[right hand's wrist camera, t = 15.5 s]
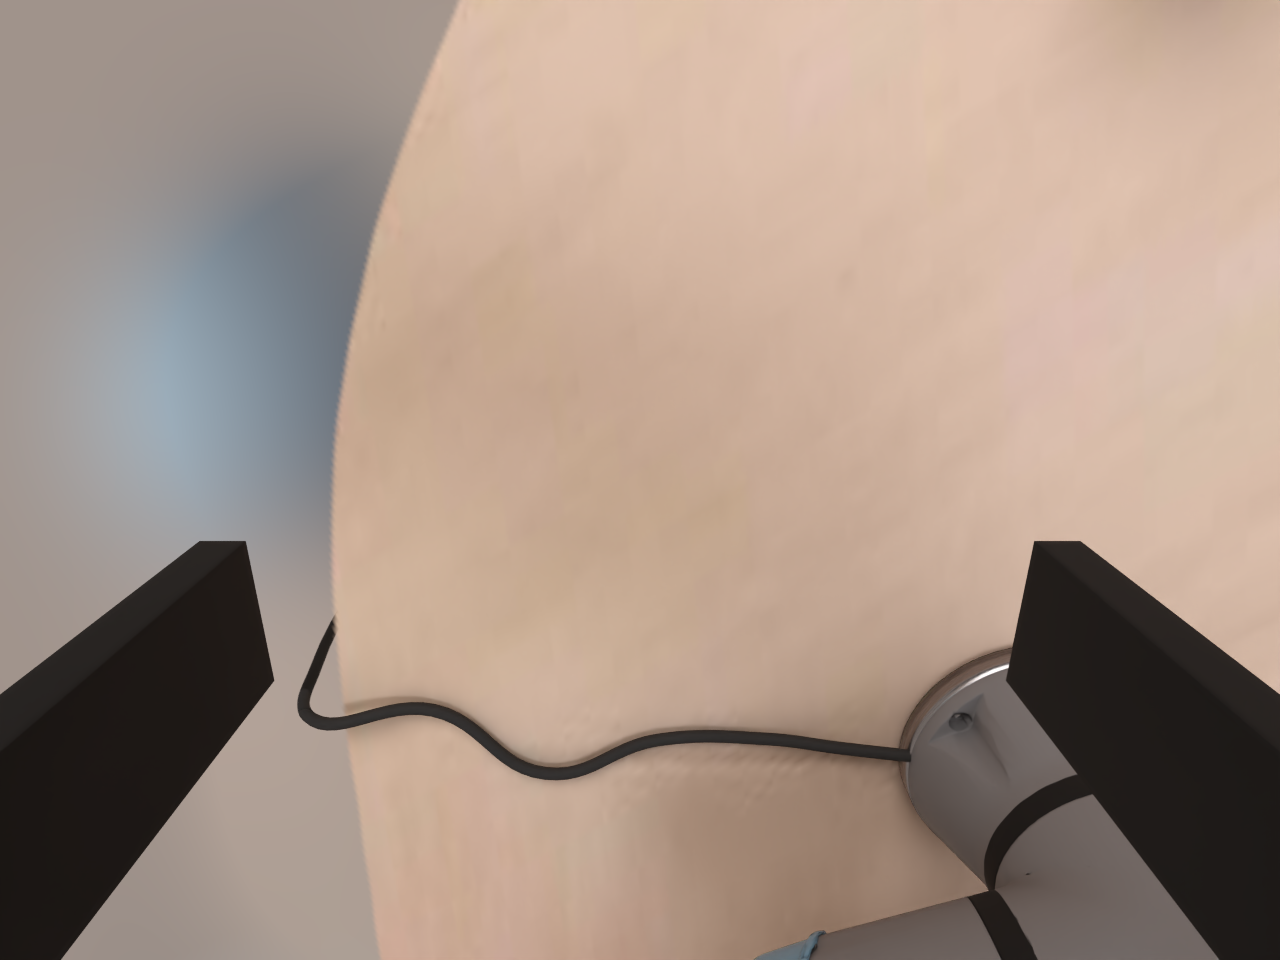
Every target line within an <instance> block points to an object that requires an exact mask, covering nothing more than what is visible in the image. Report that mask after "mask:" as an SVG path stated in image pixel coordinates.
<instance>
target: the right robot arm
mask: <svg viewBox="0 0 1280 960" xmlns="http://www.w3.org/2000/svg"><path fill="white" fill-rule="evenodd" d="M335 635H336V624H335V615H334V617H333V618H332V620H331V622H330V624H329V626H328V628H327V630H326V632H325V634H324V636H323V638H322V640H321V642H320V644H319V646H318V649H317V651H316V653H315V656H314V659H313V661H312V663H311V666H310V668H309V671H308V673H307V675H306V678H305V680H304V682H303V684H302V687H301V689H300V692H299V695H298V700H297V709H298V713H299V716H300V717H301V718H302V720H303V721H305V722H306V723H307V724H308V725H310V726H312V727H314V728H317V729H320V730H341V729H347V728H351V727H355V726H359V725H363V724H366V723H370V722H374V721H377V720H382V719H386V718H390V717H396V716H402V715H425V716H432V717H435V718H439V719H442V720H445V721H447V722H449V723H451V724H454V725H455V726H457V727H459V728H460V729H462V730H464V731H465V732H466V733H468V734H469V735H470V736H472V737H473V738H474V739H475V740H476V741H478V742H479V743H480V744H481V745H482V746H483V747H484V748H486V749H487V750H488V751H489V752H490V753H491V754H492V755H494V756H495V757H496V758H497V759H499V760H500V761H501V762H502V763H504V764H505V765H507V766H508V767H510V768H511V769H513V770H515V771H517V772H519V773H521V774H524V775H527V776H530V777H533V778H539V779H544V780H566V779H572V778H577V777H580V776H583V775H586V774H589V773H591V772H594V771H596V770H598V769H600V768H602V767H604V766H606V765H608V764H610V763H612V762H614V761H616V760H618V759H621V758H623V757H625V756H627V755H630V754H632V753H635V752H637V751H641V750H644V749H647V748H652V747H657V746H664V745H672V744H683V743H703V742H714V743H739V744H756V745H772V746H784V747H792V748H800V749H807V750H813V751H820V752H826V753H834V754H841V755H850V756H858V757H867V758H876V759H884V760H893V761H899V767H900V773H901V777H902V780H903V783H904V786H905V788H906V790H907V792H908V795H909V797H910V799H911V801H912V803H913V805H914V807H915V809H916V811H917V813H918V814H919V816H920V817H921V819H922V820H923V821H924V822H925V823H926V825H927V826H928V827H929V828H930V829H931V830H932V831H933V832H934V834H935V835H936V836H937V837H939V838H940V839H941V840H942V841H943V842H944V843H945V844H946V846H947V847H948V848H949V849H950V850H951V851H952V852H953V853H954V854H955V855H956V856H957V857H958V858H959V859H960V860H961V861H962V862H963V863H964V864H965V865H966V866H967V867H968V868H969V869H970V870H971V871H972V872H973V873H974V874H975V875H976V876H977V877H978V878H979V879H980V880H981V881H982V882H983V883H984V884H985V885H986V886H987V888H988V890H989V891H987V892H983V893H980V894H976V895H972V896H968V897H964V898H960V899H956V900H952V901H949V902H945V903H941V904H937V905H934V906H930V907H926V908H922V909H918V910H915V911H911V912H907V913H903V914H900V915H896V916H892V917H888V918H885V919H881V920H877V921H873V922H869V923H866V924H862V925H858V926H854V927H851V928H847V929H843V930H839V931H835V932H832V933H828V934H827V933H826V932H825V931H817V932H814V933H813V934H811V935H810V936H809V938H808V939H807V940H804V941H801V942H798V943H795V944H792V945H789V946H786V947H783V948H780V949H777V950H774V951H771V952H768V953H765V954H762V955H760V956H758V957H757V958H755V959H754V960H1280V694H1278V693H1277V692H1276V691H1275V690H1273V689H1272V688H1271V687H1269V686H1268V685H1267V684H1265V683H1264V682H1263V681H1262V680H1260V679H1259V678H1258V677H1256V676H1255V675H1254V674H1252V673H1251V672H1250V671H1249V670H1247V669H1246V668H1245V667H1243V666H1242V665H1241V664H1239V663H1238V662H1237V661H1236V660H1234V659H1233V658H1232V657H1230V656H1229V655H1228V654H1226V653H1225V652H1224V651H1223V650H1221V649H1220V648H1219V647H1217V646H1216V645H1215V644H1213V643H1212V642H1211V641H1210V640H1208V639H1207V638H1206V637H1204V636H1203V635H1202V634H1200V633H1199V632H1198V631H1197V630H1195V629H1194V628H1193V627H1191V626H1190V625H1189V624H1187V623H1186V622H1185V621H1184V620H1182V619H1181V618H1180V617H1178V616H1177V615H1176V614H1174V613H1173V612H1172V611H1171V610H1169V609H1168V608H1167V607H1165V606H1164V605H1163V604H1161V603H1160V602H1159V601H1158V600H1156V599H1155V598H1154V597H1152V596H1151V595H1150V594H1148V593H1147V592H1146V591H1145V590H1143V589H1142V588H1141V587H1139V586H1138V585H1137V584H1135V583H1134V582H1133V581H1132V580H1130V579H1129V578H1128V577H1126V576H1125V575H1124V574H1122V573H1121V572H1120V571H1119V570H1117V569H1116V568H1115V567H1113V566H1112V565H1111V564H1109V563H1108V562H1107V561H1106V560H1104V559H1103V558H1102V557H1100V556H1099V555H1098V554H1096V553H1095V552H1094V551H1093V550H1091V549H1090V548H1089V547H1087V546H1086V545H1085V544H1083V543H1082V542H1081V541H1034V545H1033V550H1032V555H1031V560H1030V565H1029V570H1028V575H1027V579H1026V584H1025V589H1024V594H1023V599H1022V604H1021V609H1020V614H1019V618H1018V623H1017V628H1016V633H1015V638H1014V643H1013V648H1009V649H1005V650H1001V651H997V652H994V653H991V654H988V655H985V656H982V657H980V658H978V659H975V660H973V661H971V662H969V663H967V664H965V665H963V666H961V667H960V668H958V669H957V670H955V671H953V672H952V673H950V674H949V675H948V676H946V677H945V678H944V679H942V680H941V681H940V682H939V683H937V684H936V685H935V686H934V687H933V688H932V689H931V690H930V691H929V692H928V693H927V694H926V695H925V696H924V697H923V699H922V700H921V701H920V702H919V704H918V705H917V706H916V708H915V710H914V711H913V713H912V714H911V716H910V718H909V720H908V722H907V724H906V726H905V729H904V731H903V735H902V738H901V742H900V749H898V748H889V747H880V746H871V745H863V744H854V743H845V742H837V741H830V740H823V739H816V738H809V737H803V736H795V735H787V734H776V733H761V732H745V731H726V730H691V731H677V732H668V733H660V734H654V735H649V736H644V737H641V738H638V739H635V740H632V741H629V742H627V743H624V744H622V745H620V746H618V747H616V748H614V749H612V750H610V751H608V752H606V753H604V754H602V755H600V756H598V757H596V758H594V759H591V760H589V761H586V762H584V763H581V764H578V765H574V766H569V767H561V768H552V767H543V766H537V765H534V764H531V763H528V762H525V761H523V760H521V759H519V758H517V757H516V756H514V755H513V754H511V753H510V752H508V751H507V750H506V749H505V748H503V747H502V746H501V745H500V744H499V743H498V742H496V741H495V740H494V739H493V738H492V737H491V736H490V735H489V734H487V733H486V732H485V731H484V730H483V729H482V728H480V727H479V726H478V725H477V724H475V723H474V722H473V721H471V720H470V719H468V718H467V717H465V716H463V715H462V714H460V713H458V712H456V711H454V710H451V709H449V708H446V707H443V706H440V705H436V704H430V703H423V702H408V703H399V704H393V705H388V706H383V707H379V708H375V709H372V710H368V711H364V712H361V713H357V714H353V715H349V716H343V717H335V718H329V717H323V716H320V715H318V714H316V713H314V712H313V711H312V709H311V707H310V698H311V694H312V691H313V689H314V686H315V684H316V682H317V679H318V677H319V675H320V672H321V669H322V666H323V664H324V661H325V659H326V656H327V654H328V651H329V648H330V646H331V644H332V642H333V640H334V638H335ZM273 682H274V677H273V672H272V667H271V662H270V658H269V653H268V648H267V643H266V638H265V633H264V628H263V623H262V618H261V614H260V609H259V604H258V599H257V594H256V589H255V584H254V580H253V575H252V570H251V565H250V560H249V555H248V550H247V545H246V541H199V542H198V543H197V544H195V545H194V546H193V547H191V548H190V549H189V550H187V551H186V552H185V553H184V554H182V555H181V556H180V557H178V558H177V559H176V560H175V561H173V562H172V563H171V564H169V565H168V566H167V567H165V568H164V569H163V570H162V571H160V572H159V573H158V574H156V575H155V576H154V577H152V578H151V579H150V580H148V581H147V582H146V583H145V584H143V585H142V586H141V587H139V588H138V589H137V590H135V591H134V592H133V593H132V594H130V595H129V596H128V597H126V598H125V599H124V600H122V601H121V602H120V603H119V604H117V605H116V606H115V607H113V608H112V609H111V610H109V611H108V612H107V613H106V614H104V615H103V616H102V617H100V618H99V619H98V620H97V621H95V622H94V623H93V624H91V625H90V626H89V627H87V628H86V629H85V630H83V631H82V632H81V633H80V634H78V635H77V636H76V637H74V638H73V639H72V640H70V641H69V642H68V643H67V644H65V645H64V646H63V647H61V648H60V649H59V650H58V651H56V652H55V653H54V654H52V655H51V656H50V657H48V658H47V659H46V660H44V661H43V662H42V663H41V664H39V665H38V666H37V667H35V668H34V669H33V670H31V671H30V672H29V673H28V674H26V675H25V676H24V677H22V678H21V679H20V680H18V681H17V682H16V683H15V684H13V685H12V686H11V687H9V688H8V689H7V690H6V691H4V692H3V693H2V694H0V960H61V959H62V957H63V956H64V955H65V953H66V952H67V951H68V950H69V948H70V947H71V946H72V944H73V943H74V942H75V941H76V939H77V938H78V937H79V935H80V934H81V933H82V931H83V930H84V929H85V927H86V926H87V925H88V923H89V922H90V921H91V920H92V918H93V917H94V916H95V914H96V913H97V912H98V910H99V909H100V908H101V907H102V905H103V904H104V903H105V901H106V900H107V899H108V897H109V896H110V895H111V893H112V892H113V891H114V890H115V888H116V887H117V886H118V884H119V883H120V882H121V880H122V879H123V878H124V876H125V875H126V874H127V873H128V871H129V870H130V869H131V867H132V866H133V865H134V863H135V862H136V861H137V859H138V858H139V857H140V856H141V854H142V853H143V852H144V850H145V849H146V848H147V846H148V845H149V844H150V842H151V841H152V840H153V839H154V837H155V836H156V835H157V833H158V832H159V831H160V829H161V828H162V827H163V825H164V824H165V823H166V822H167V820H168V819H169V818H170V816H171V815H172V814H173V812H174V811H175V810H176V808H177V807H178V806H179V804H180V803H181V802H182V801H183V799H184V798H185V797H186V795H187V794H188V793H189V791H190V790H191V789H192V787H193V786H194V785H195V784H196V782H197V781H198V780H199V778H200V777H201V776H202V774H203V773H204V772H205V770H206V769H207V768H208V767H209V765H210V764H211V763H212V761H213V760H214V759H215V757H216V756H217V755H218V754H219V752H220V751H221V750H222V748H223V747H224V746H225V744H226V743H227V742H228V740H229V739H230V738H231V736H232V735H233V734H234V733H235V731H236V730H237V729H238V727H239V726H240V725H241V723H242V722H243V721H244V720H245V718H246V717H247V716H248V714H249V713H250V712H251V710H252V709H253V708H254V706H255V705H256V704H257V703H258V701H259V700H260V699H261V697H262V696H263V695H264V693H265V692H266V691H267V689H268V688H269V687H270V686H271V684H272V683H273Z"/></svg>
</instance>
